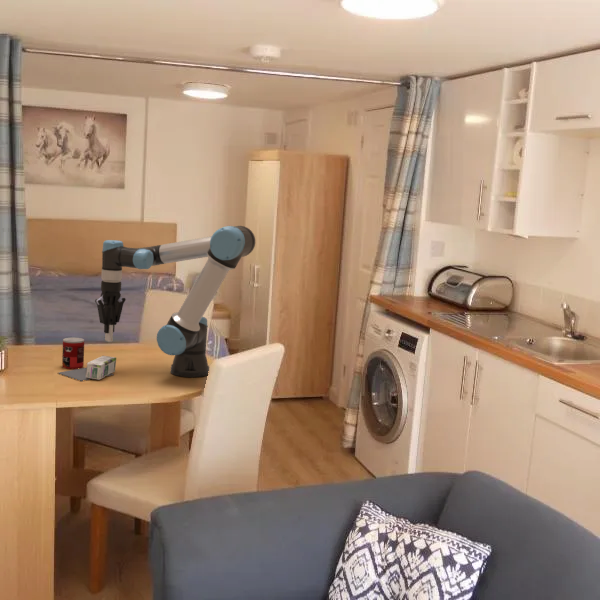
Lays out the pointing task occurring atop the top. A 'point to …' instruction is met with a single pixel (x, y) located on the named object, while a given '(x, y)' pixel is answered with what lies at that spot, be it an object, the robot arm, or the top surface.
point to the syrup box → (100, 367)
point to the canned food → (73, 353)
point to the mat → (78, 374)
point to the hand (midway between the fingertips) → (108, 341)
